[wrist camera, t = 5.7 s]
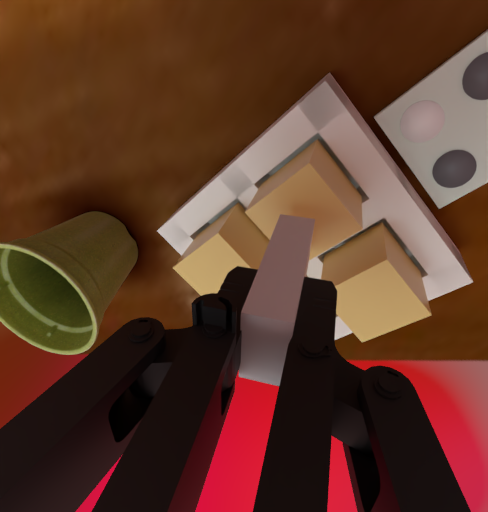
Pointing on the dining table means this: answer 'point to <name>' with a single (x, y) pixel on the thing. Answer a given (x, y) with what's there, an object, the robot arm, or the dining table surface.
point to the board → (357, 171)
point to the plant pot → (64, 281)
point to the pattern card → (445, 125)
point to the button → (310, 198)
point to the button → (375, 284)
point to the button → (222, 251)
